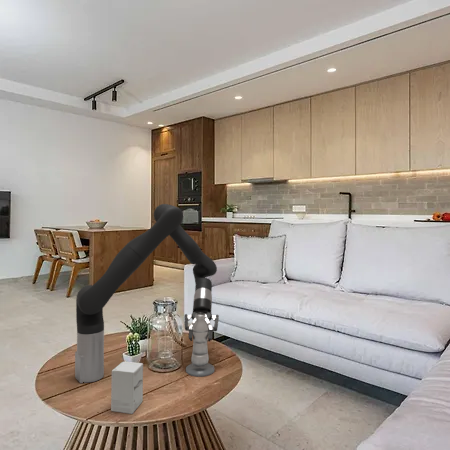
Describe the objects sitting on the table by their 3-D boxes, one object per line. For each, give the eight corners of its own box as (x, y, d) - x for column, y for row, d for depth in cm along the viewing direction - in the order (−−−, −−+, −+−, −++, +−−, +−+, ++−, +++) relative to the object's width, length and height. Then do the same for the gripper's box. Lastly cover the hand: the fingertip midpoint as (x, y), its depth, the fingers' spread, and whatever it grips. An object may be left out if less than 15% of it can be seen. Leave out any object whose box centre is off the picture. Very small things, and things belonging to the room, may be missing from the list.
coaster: (196, 379, 129) (196, 377, 129) (180, 369, 138) (180, 367, 138) (220, 371, 137) (220, 369, 137) (203, 361, 145) (203, 360, 145)
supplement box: (133, 414, 106) (133, 372, 106) (110, 411, 108) (110, 370, 107) (143, 401, 114) (143, 362, 113) (122, 399, 115) (122, 360, 115)
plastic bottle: (189, 363, 139) (189, 312, 138) (205, 360, 142) (205, 310, 141) (194, 370, 133) (194, 317, 132) (211, 367, 136) (211, 315, 135)
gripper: (184, 296, 144) (180, 335, 133) (220, 297, 144) (219, 336, 133) (185, 306, 149) (182, 344, 138) (220, 306, 149) (219, 345, 138)
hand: (200, 340), depth 135 cm, fingers closed on plastic bottle, 6 cm apart
